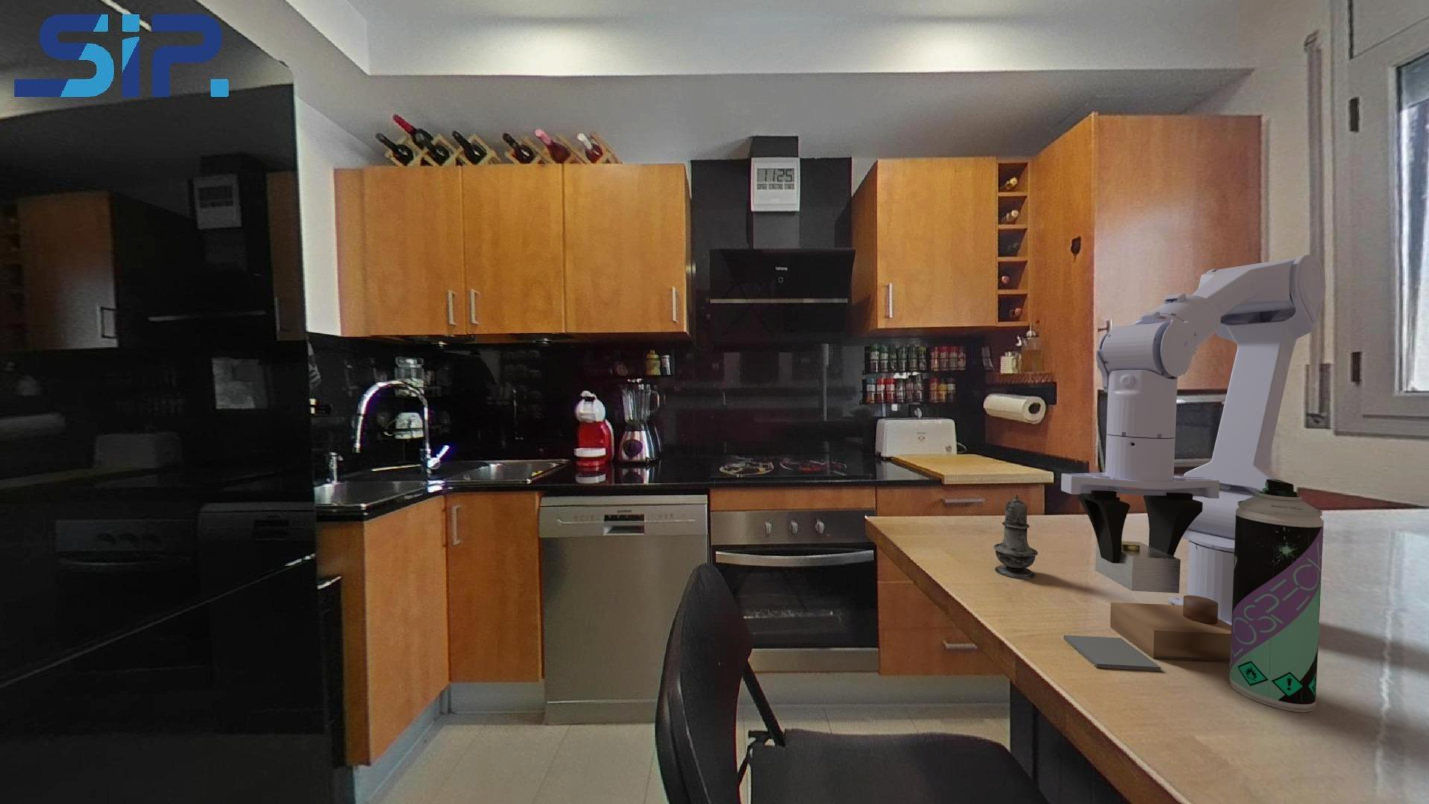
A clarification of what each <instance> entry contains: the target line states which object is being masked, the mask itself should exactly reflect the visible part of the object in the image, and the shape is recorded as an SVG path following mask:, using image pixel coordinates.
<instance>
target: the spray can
mask: <svg viewBox="0 0 1429 804" xmlns="http://www.w3.org/2000/svg"><path fill="white" fill-rule="evenodd" d="M1265 486H1266V488H1263V489H1262V491H1258V492H1257V495H1256V496H1254V497H1251V498H1248V499H1246V500H1242V501H1238V506H1239V508H1237V509H1236V520H1235V546H1234V572H1233V599H1232V625H1231V651H1230V662H1229V684H1230V686H1231V687H1232V688H1233V690H1235V691H1236V692H1238V694H1241V695H1243V696H1245V697H1246V698H1248V699H1251V700H1253V701H1256V702H1257V703H1260V704H1263V705H1266V706H1269V707H1272V708H1276V709H1280V710H1284V711H1290V712H1297V713H1308V711H1310V712H1312V711H1314V710H1315V709H1314V708H1316V703H1317V702H1316V700H1317V682H1318V681H1317V678H1318V658H1319V657H1318V656H1319V638H1320V637H1319V635H1320V634H1319V633H1320V618H1321V617H1320V615H1321V613H1320V610H1321V596H1322V595H1321V594H1322V593H1321V589H1322V568H1323V566H1322V564H1323V550H1324V549H1323V546H1324V527H1325V526H1324V524H1325V523H1324V522H1325V521H1324V520H1323V519H1322V518H1321V517H1322V516H1323V511H1322V510H1320V509H1317V508H1315V507H1313V506H1312V505H1310V504H1308V503H1307V502H1305V501H1303V500H1302V499H1303V497H1302V495H1299V494H1298V492H1297V491H1295V490H1294V489H1295V485H1294V484H1293V483H1291V482H1287V481H1284V480H1281V479H1279V480H1276V479H1267V480H1266V483H1265Z"/></svg>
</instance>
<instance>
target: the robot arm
mask: <svg viewBox="0 0 1429 804" xmlns="http://www.w3.org/2000/svg"><path fill="white" fill-rule="evenodd" d="M1326 286H1327V285H1326V281H1325V271H1324V268H1323V265H1322V263H1321V261H1320V259H1319V260H1318V259H1317V258H1316V257H1315V256H1313V255H1312V254H1301V255H1299V256H1297V257H1291V258H1286V259H1285V258H1284V259H1279V260H1277V259H1276V260H1273V261H1272V260H1271V261H1265V262H1260V263H1251V264H1247V265H1240V266H1233V267H1226V268H1212V269H1210V270H1207V271H1206V272H1205V273H1203V274H1202V275H1200V279H1199V285H1198V288H1197V289H1196V290H1195V291H1194V292H1193V293H1191V294H1186V293H1184V292H1181V293H1175V294H1168V295H1167V296H1165V297H1164V298H1163V299H1162V300H1163V303H1162V304H1160V305H1159V306H1157V307H1155V308H1154V309H1153V310H1152V311H1147V312H1145V313H1143V314H1142V315H1141V316H1140V318H1139V319H1138V320H1136V321H1135V322H1134V323H1132V324H1130V325H1128V324H1127V325H1119V326H1115V327H1113V328H1111V329H1110V331H1108V332H1106V333H1105V334H1103V335H1102V337H1101V339H1100V341H1099V343H1098V347H1097V350H1096V351H1095V358H1096V359H1095V360H1096V364H1097V367H1098V369H1099V372H1100V374H1101V388H1103V392H1104V393H1107V406H1106V407H1107V408H1106V410H1107V411H1106V412H1107V413H1106V439H1105V440H1106V441H1105V444H1106V445H1105V465H1104V466H1105V471H1104V472H1085V473H1083V472H1082V473H1061V482H1060V483H1061V484H1060V486H1061V487H1060V490H1061V492H1065V493H1067V494H1070V495H1077V498H1078V500H1079V503H1081V506H1082V507H1083V509H1084V511H1085V513H1086V514H1087V516H1088V519H1089V521H1090V523H1091V526H1092V528H1093V531H1094V535H1095V538H1096V540H1097V542H1098V546H1099V550H1100V555H1101V558H1103V559H1105V560H1107V561H1109V562H1111V563H1119V561H1120V557H1121V550H1122V541H1123V533H1124V526H1125V522H1126V519H1127V516H1128V512H1129V510H1130V508H1131V505H1130V503H1128V502H1125V501H1122V500H1121V497H1120V496H1118V497H1117V495H1130V496H1131V495H1132V496H1142V497H1143V500H1144V503H1145V508H1146V509H1145V510H1146V514H1147V518H1148V520H1147V521H1148V546H1150V547H1152V548H1154V549H1157V550H1159V551H1162V552H1164V553H1166V554H1169V555H1172V556H1174V557H1175V554H1176V551H1177V549H1178V547H1179V544H1180V542H1181V540H1182V539H1183V540H1188V556H1187V557H1188V558H1187V559H1188V561H1187V585H1186V587H1187V588H1186V589H1187V592H1186V595H1193V596H1200V597H1204V598H1208V599H1211V600H1213V601H1215V602H1217V603H1218V618H1219V619H1220V620H1222V621H1224V622H1226V623H1228V624H1230V625H1232V599H1233V572H1234V546H1235V520H1236V509H1237V508H1239V506H1238V501H1242V500H1246V499H1248V498H1251V497H1254V496H1257V492H1258V491H1262V489H1263V488H1266V486H1265V483H1266V480H1267V479H1276V480H1280V479H1279V478H1278V477H1276V476H1275V475H1274V474H1272V473H1271V472H1269V471H1268V465H1269V461H1270V456H1271V452H1272V447H1273V443H1274V438H1275V433H1276V429H1277V424H1278V422H1279V421H1278V420H1279V415H1280V412H1281V406H1282V402H1283V397H1284V392H1285V387H1286V385H1287V383H1286V382H1287V378H1288V374H1289V371H1290V370H1289V369H1290V365H1291V362H1292V357H1293V353H1294V350H1295V346H1296V343H1297V340H1298V339H1301V338H1302V337H1304V336H1306V335H1309V334H1310V333H1312V332H1314V331H1315V330H1316V328H1317V323H1318V321H1319V320H1320V316H1321V312H1322V308H1323V307H1322V306H1323V303H1324V297H1325V293H1326ZM1215 334H1216V336H1217V337H1218V338H1222V339H1225V340H1227V341H1230V342H1233V343H1235V344H1236V346H1237V347H1236V353H1235V356H1234V357H1235V358H1234V361H1233V365H1232V369H1231V375H1230V379H1229V382H1228V387H1227V391H1226V392H1227V393H1226V395H1225V399H1224V404H1223V409H1222V414H1221V417H1220V422H1219V425H1218V431H1217V435H1216V438H1215V443H1214V448H1213V452H1212V457H1211V460H1210V461H1209V462H1207V463H1204V464H1202V465H1200V466H1198V467H1195V468H1193V469H1190V470H1188V471H1186V472H1185V473H1184V474H1183V475H1175V454H1176V453H1175V450H1176V449H1175V448H1176V426H1177V404H1178V403H1177V396H1178V378H1179V377H1180V376H1182V375H1185V374H1186V373H1187V372H1188V370H1189V369H1190V366H1191V364H1192V359H1193V357H1194V355H1196V353H1197V351H1198V347H1199V346H1201V345H1203V343H1204V342H1206V341H1207V340H1208V339H1210V338H1211V337H1212V336H1214V335H1215ZM1167 599H1168V602H1170V603H1171V604H1172V605H1183V597H1175V596H1173V597H1172V596H1171V597H1168V598H1167Z"/></svg>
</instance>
